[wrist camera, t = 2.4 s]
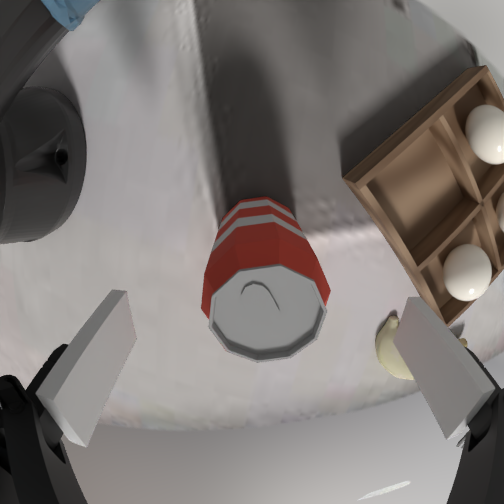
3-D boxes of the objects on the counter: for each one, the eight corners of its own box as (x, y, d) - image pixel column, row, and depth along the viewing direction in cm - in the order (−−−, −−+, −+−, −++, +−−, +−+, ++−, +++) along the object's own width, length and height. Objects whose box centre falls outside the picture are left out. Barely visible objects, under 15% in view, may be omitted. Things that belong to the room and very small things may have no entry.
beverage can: (275, 181, 21) (305, 225, 10) (307, 249, 24) (351, 341, 12) (207, 215, 22) (168, 289, 11) (243, 278, 25) (240, 383, 13)
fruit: (432, 371, 31) (442, 386, 28) (356, 360, 29) (364, 380, 26) (461, 332, 29) (473, 346, 26) (389, 311, 27) (402, 329, 24)
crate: (341, 178, 21) (355, 183, 18) (467, 68, 16) (486, 65, 14) (431, 316, 27) (443, 331, 24) (524, 212, 22) (539, 219, 19)
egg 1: (445, 122, 18) (486, 123, 13) (472, 95, 17) (510, 94, 12) (469, 170, 20) (508, 181, 15) (494, 142, 19) (531, 148, 13)
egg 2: (425, 260, 24) (457, 287, 18) (461, 225, 22) (496, 244, 17) (442, 294, 25) (469, 321, 20) (474, 261, 24) (504, 284, 19)
